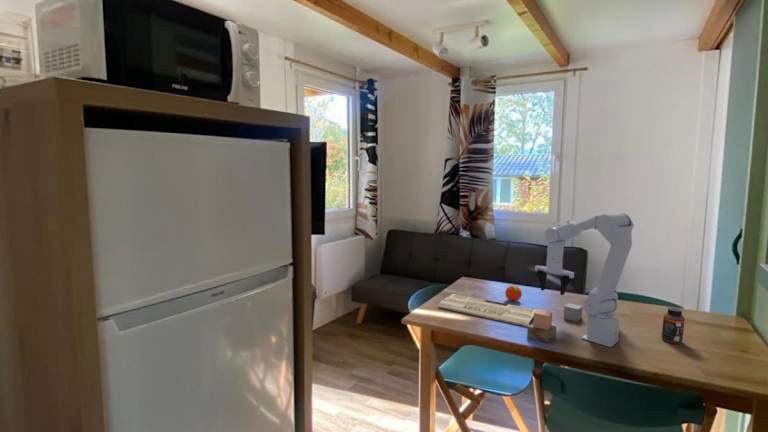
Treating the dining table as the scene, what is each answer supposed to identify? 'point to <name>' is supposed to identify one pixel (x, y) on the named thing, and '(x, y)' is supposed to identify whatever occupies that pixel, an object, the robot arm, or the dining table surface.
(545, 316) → the terracotta cube
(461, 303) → the newspaper
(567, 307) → the slate cube
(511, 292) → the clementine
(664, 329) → the supplement bottle
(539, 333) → the walnut block
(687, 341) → the dining table surface
